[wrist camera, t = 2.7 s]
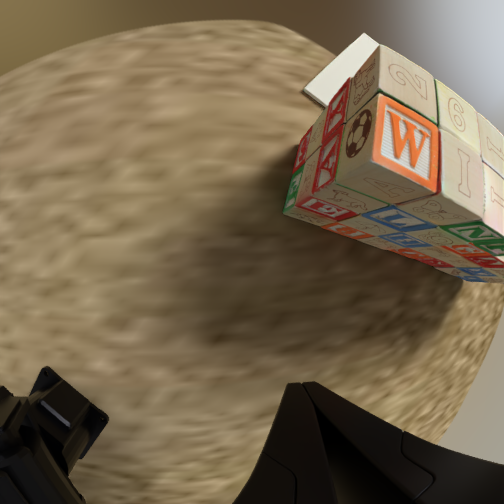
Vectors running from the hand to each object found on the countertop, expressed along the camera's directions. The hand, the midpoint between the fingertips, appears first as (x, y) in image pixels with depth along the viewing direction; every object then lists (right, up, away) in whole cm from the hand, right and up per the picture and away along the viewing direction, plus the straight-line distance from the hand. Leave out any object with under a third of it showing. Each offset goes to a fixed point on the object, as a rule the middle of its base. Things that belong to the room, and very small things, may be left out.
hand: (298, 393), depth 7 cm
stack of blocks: (+12, +7, +15) cm, 20 cm away
